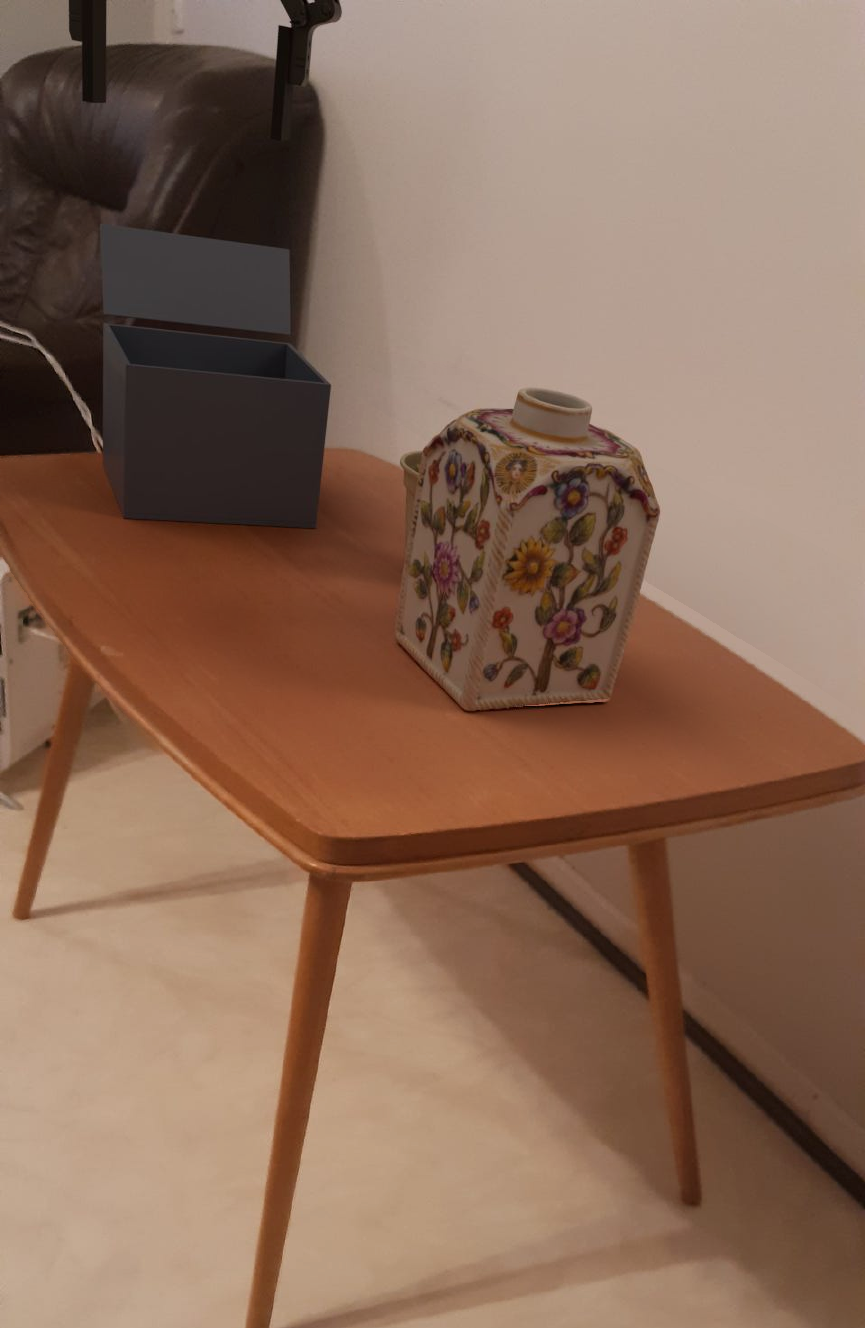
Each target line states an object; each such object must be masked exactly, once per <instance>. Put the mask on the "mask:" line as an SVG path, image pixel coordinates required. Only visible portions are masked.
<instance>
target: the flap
mask: <svg viewBox="0 0 865 1328" xmlns="http://www.w3.org/2000/svg"><path fill="white" fill-rule="evenodd" d="M99 235H100V238H99V239H100V257H101V259H100V260H101V281H102V283H101V285H102V306H103V308H102V309H103V316H109V317H117V318H129V319H137V320H146V321H153V322H154V321H155V322H163V323H173V324H182V325H190V326H198V327H199V326H201V327H207V328H208V327H209V328H218V329H227V330H235V331H236V330H237V331H244V332H254V333H262V334H271V335H281V336H291V333H292V332H291V268H290V267H291V264H290V261H291V260H290V259H291V258H290V252H291V251H290V249H289V248H281V247H276V246H275V247H273V246H268V245H260V244H252V243H246V242H245V243H244V242H237V241H230V240H223V239H215V238H208V237H201V236H194V235H192V236H191V235H187V234H179V233H171V232H164V231H157V230H150V229H141V228H134V227H127V226H121V225H113V224H105V223H100V224H99Z"/></svg>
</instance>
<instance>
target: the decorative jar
mask: <svg viewBox="0 0 865 1328" xmlns="http://www.w3.org/2000/svg"><path fill="white" fill-rule="evenodd" d="M515 398H516V399H515V402H514V405H513V408H501V407H499V408H498V407H497V408H495V407H486V408H485V407H484V408H483V407H482V408H476V409H473V410H471V411H468V412H465V413H463V414H461V415H459V416H458V418H456V419H454V420H452V421H450V422H449V423H447V424H446V425H445V426H444V428H443V429H442V430H441V432H440V433H437V434H436V435H435V436H433V437H432V438H431V439H430V441H429V442H428V443H427V444H426V445H425V446H424V447H423V448H422V451H423V452H422V458H421V464H420V469H419V475H418V481H417V487H416V493H415V500H414V506H413V511H412V517H411V523H410V529H409V536H408V541H407V547H406V554H405V553H404V562H403V567H402V573H401V580H400V586H399V591H398V592H399V594H398V601H397V610H396V618H395V626H394V639H395V641H396V642H398V644H399V645H400V646H401V647H402V648H403V649H404V650H406V652H407V653H408V654H409V655H410V657H411V658H412V659H413V660H415V662H416V663H417V664H418V665H419V666H420V667H421V669H423V670H424V671H425V672H426V673H427V674H428V675H429V676H430V677H431V678H432V679H433V680H434V681H435V682H436V683H437V684H438V685H439V686H440V687H441V688H442V689H443V690H444V691H445V692H446V693H447V694H448V696H450V697H451V698H452V700H454V701H455V702H456V703H457V704H458V706H459V707H460V708H461V709H462V710H464V711H466V710H467V711H466V712H477V711H476V710H480V711H490V710H489V709H495V710H502V709H501V708H506V709H510V708H509V707H516V706H517V707H518V706H525V705H526V706H527V705H539V704H548V703H549V704H550V703H560V702H564V703H565V702H570V701H571V702H572V701H587V700H598V699H602V700H603V699H609V698H610V699H611V698H612V694H613V690H614V687H615V683H616V680H617V677H618V673H619V670H620V667H621V663H622V660H623V657H624V653H625V649H626V645H627V643H628V642H627V641H628V638H629V636H630V631H631V628H632V624H633V621H634V617H635V612H636V609H637V604H638V602H639V596H640V594H641V590H642V585H643V582H644V577H645V573H646V569H647V567H648V562H649V557H650V553H651V550H652V546H653V542H654V539H655V536H656V530H657V528H658V524H659V520H660V516H661V508H660V505H659V502H658V499H657V497H656V493H655V490H654V487H653V484H652V482H651V479H650V477H649V474H648V472H647V470H646V466H645V463H644V460H643V457H642V455H641V452H640V450H639V449H638V448H636V447H635V446H633V445H632V444H630V443H629V442H628V441H626V440H624V439H622V438H621V437H619V436H618V435H616V434H615V433H614V432H611V431H610V430H608V429H605V428H602V427H599V426H596V425H593V424H592V423H590V422H591V418H592V414H593V407H592V405H591V403H589V402H588V401H586V400H584V399H583V398H580V397H578V396H576V395H572V394H569V393H566V392H562V391H557V390H553V389H550V388H549V389H548V388H543V387H525V388H521V389H519V390H518V392H517V394H516V397H515ZM507 707H508V708H507ZM498 708H499V709H498ZM518 708H519V707H518Z"/></svg>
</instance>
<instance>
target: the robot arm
mask: <svg viewBox="0 0 865 1328" xmlns="http://www.w3.org/2000/svg"><path fill="white" fill-rule="evenodd" d="M107 1H108V0H68V32H69V35H70V38H71V41H75V42H79V43H81V101H82V102H86V103H90V104H107ZM279 1H280V2H281V5H282V6H283V8H284V10H285V13H286V14H287V16H288V19H289V24H290V26H286V25H281V24H278V27H277V42H276V57H275V71H274V85H273V99H272V114H271V124H270V125H271V128H270V140H274V141H279V142H282V141H284V142H285V141H290V139H291V130H292V129H291V126H292V115H293V104H294V103H293V102H294V89H295V86H299V87H306V85H307V83H308V81H309V79H310V68H311V57H312V47H313V36H314V33H315V31H316V29H317V28H319V27H321V26H324V25H328V24H332V23H333V24H334V23H337V22H339V21H340V20H341V18H342V15H343V10H342V6H341V5H342V4H341V1H340V0H313V2H309V1H308V0H279Z"/></svg>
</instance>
